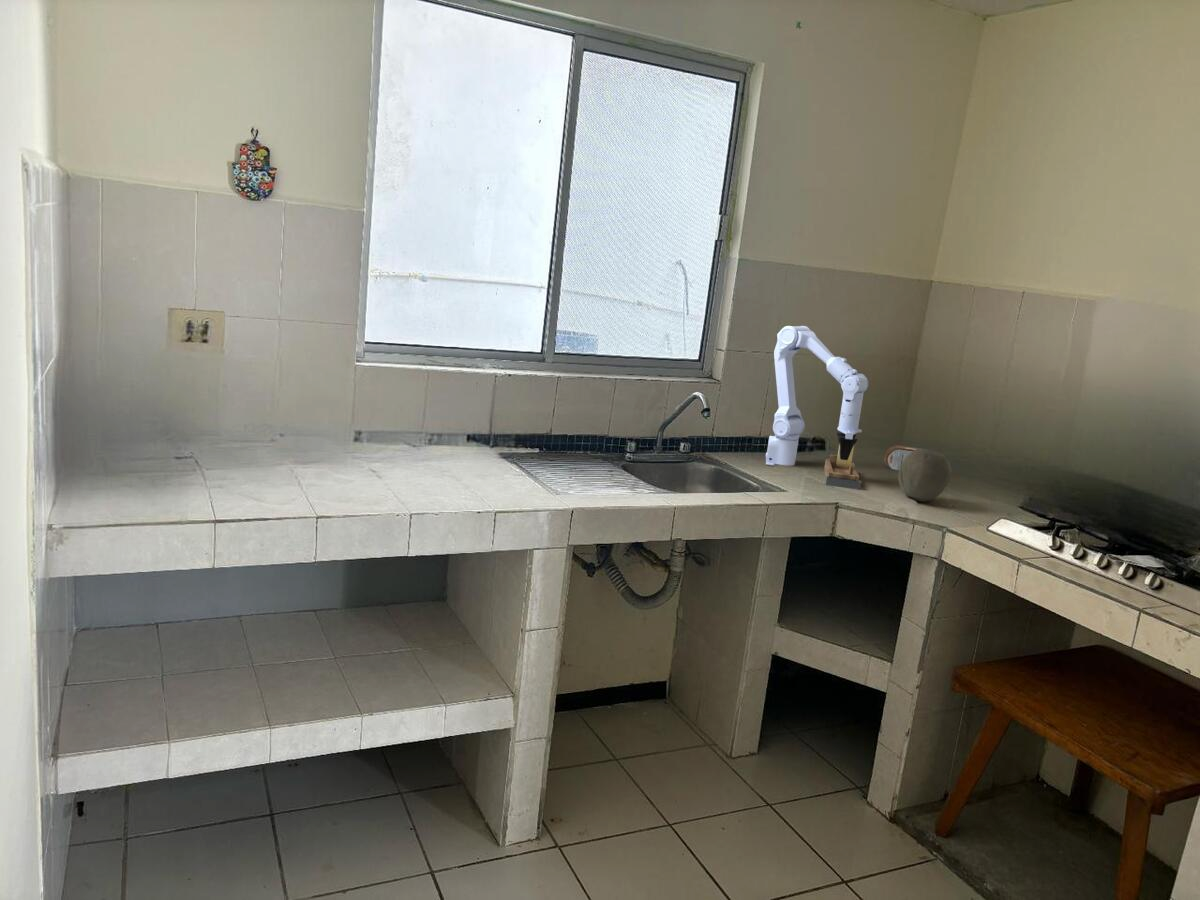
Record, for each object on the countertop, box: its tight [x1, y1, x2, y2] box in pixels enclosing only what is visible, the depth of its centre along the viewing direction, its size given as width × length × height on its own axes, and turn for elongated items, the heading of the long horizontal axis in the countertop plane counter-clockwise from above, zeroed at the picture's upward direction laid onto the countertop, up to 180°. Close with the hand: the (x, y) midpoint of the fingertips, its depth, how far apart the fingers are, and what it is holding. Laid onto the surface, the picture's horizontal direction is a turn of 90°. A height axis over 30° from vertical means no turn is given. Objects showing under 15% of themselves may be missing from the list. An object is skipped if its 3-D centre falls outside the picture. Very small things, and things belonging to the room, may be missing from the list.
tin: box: [883, 445, 922, 472], centre depth 305 cm, size 15×3×8 cm, turn 84°
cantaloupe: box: [897, 448, 953, 503], centre depth 269 cm, size 14×14×15 cm
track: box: [824, 475, 863, 490], centre depth 287 cm, size 11×29×3 cm, turn 170°
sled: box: [823, 454, 860, 481], centre depth 285 cm, size 9×20×5 cm, turn 170°
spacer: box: [836, 442, 855, 467], centre depth 284 cm, size 4×4×7 cm
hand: (843, 458), depth 284 cm, fingers closed on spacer, 4 cm apart
